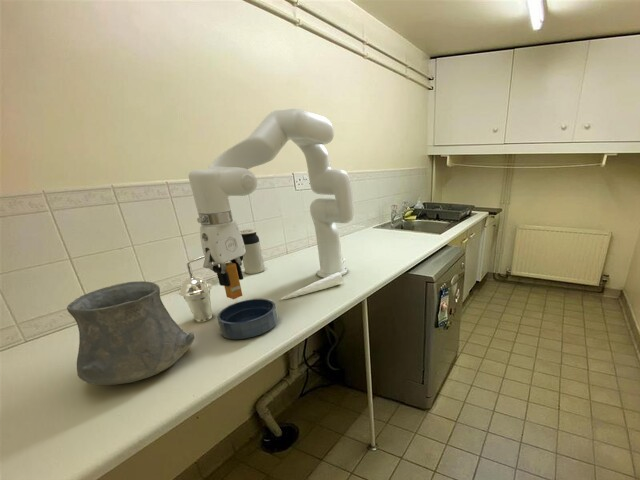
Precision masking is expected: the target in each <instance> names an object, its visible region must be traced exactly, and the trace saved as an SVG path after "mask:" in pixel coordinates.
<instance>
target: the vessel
mask: <svg viewBox="0 0 640 480" xmlns="http://www.w3.org/2000/svg"><path fill="white" fill-rule="evenodd" d="M66 310H67V312H68V313H69V314H70V315H71V317H72V318H73V319H74V321H75V322H76V325H77V328H78V335H79V337H78V338H79V339H78V341H79V344H78V350H77V351H78V352H77V358H76V375H77V377H78V378H79V379H80V380H81V381H82V382H85V383H86V384H90V385H91V384H92V385H97V386H112V385H114V386H115V385H122V384H130V383H134V382H137V381H142V380H144V379H148V378H150V377H153V376H156V375H158V374H159V373H161V372H163V371H166V370H167V369H168V368H170V367H171V366H173V365H174V364H175V363H176V362H177V361H179V359H181V358H182V357H183V355H184V354H185V353H186V352H187V351H188V349H190V347H191V345H192V344H193V342H194V340H195V333H194V332H189V333H187V332H186V331H185V330H183V329H182V328H181V327H180V326H179V324H178V323H177V322H176V321H175V320H174V319H173V317H172V316H171V314H170V313H169V311H168V310H167V308H166V306H165V304H164V303H163V301H162V299H161V288H160V286H159V285H158V284H157V283H155V282H152V281H145V280H144V281H143V280H142V281H128V282H122V283H117V284H113V285H108V286H105V287H102V288H99V289H95V290H92V291H90V292H88V293H84V294H82V295H80V296H79V297H76V298H75V299H74V300H73V301H72V302H70V303H69V304H68V305H67V306H66Z"/></svg>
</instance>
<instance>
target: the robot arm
mask: <svg viewBox="0 0 640 480" xmlns="http://www.w3.org/2000/svg"><path fill="white" fill-rule="evenodd" d="M334 136H335V130H334V126H333V124H332V122H331V121H330V120H329V119H328V118H327V117H325V116H322V115H320V114H316V113H314V112H311V111H308V110H304V109H301V108H287V109H276V110H273V111H270V112H269V113H268V114H267V115H266V116H265V117H264V118H263V119H262V121H261V122H260V123H259V124H258V125H257V127H256V128H255V129H253V131H252V132H251V133H250V135H249V136H247V137H246V138H244V139H242V140H241V141H239V142H236V144H234V145H232V146H231V147H228V149H226V150H225V151H223V152H222V153H220V154H218V156H217V157H215V159H214V160H213V161H212V162H211V164H210V165H209V166H208V167H207V168H203V169H202V168H201V169H193V170H190V171H189V172H188V180H189V184H190V188H191V193H192V195H193V200H194V204H195V207H196V211H197V215H198V218H196V221H197V223H198V224H200V226H199V236H200V243H201V249H202V254H203V256H204V257H205V258H204V261H203V265H202V267H203V268H204V269H208V270H210V271H212V272H213V273H215V274H216V276H217V279H218V283H219V286H220V287H221V286H222V287H224V286H230V285H231V283H230V279H229V275H228V272H226V270H225V263H228V262H231V263H235V264H236V268H237V272H238V277H239V281H242V280H244V276H243V271H242V265H243V260H242V259H243V256H244V255H245V253H246V250H245V246H244V242H243V238H242V235H241V232H240V231H241V229H240V227H239V225H238V222H237V221H236V220H234V218H233V212H232V208H231V203H230V199H229V197H235V196H236V197H237V196H238V197H245V196H249V195H251V194H253V193H254V192H255V191H256V189H257V187H258V180H257V177H256V175H255V174H254V172H252V171H251V170H249V169H251V168H255V167H258V166H262V165H264V164H267V163H270V162H271V161H273V160H274V159H275V158H276V157H277V155H279V153H280V151H281V150H282V149H283V148H284V146H285V145H286V144H287V143H288V141H291V142H292V143H293V144H295V145H296V146H297V147H298V148H299V149H300V151H302V153H303V155H304V158H305V161H306V168H307V172H308V173H307V175H308V180H309V185H310V189H311V191H312V192H313V193H314V194H317V195H322V196H334V197H335V198H334V197H317V198H315V199H313V200H312V201H311V203H310V205H309V213H310V216H311V217H310V218H311V219H312V222H313V226H314V230H315V231H314V232H315V237H316V246H317V247H316V248H317V255H318V261H319V262H318V263H319V268H318V270H317V271H316V274H317V276H318V277H320V278H323V279H324V278H326V277H328V276H330V275H333V274H335V273H337V272H339V273H340V274H341V275H342V276H344V275H345V274H347V273H348V268H347V267H346V266H344V263H345V262H346V260H347V259H346V258H345V257H343V252H342V251H343V250H342V241H341V232H340V229H339V227H338V225H337V224H349V223H350V222H351V221H353V219H354V216H355V215H354V214H355V209H354V208H355V207H354V197H353V188H352V187H353V186H352V180H351V177H350V176H349V174H348V172H346V171H345V170H344V169H340V168H332V166H331V161H330V160H331V159H330V155H329V152H328V150H327V148H326V147H325V145H328V144H330V143H331V142H332V141H333V140H334Z"/></svg>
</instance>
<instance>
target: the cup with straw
mask: <svg viewBox="0 0 640 480" xmlns="http://www.w3.org/2000/svg"><path fill="white" fill-rule="evenodd" d="M203 259H205V257H204V255H202V256H201V255H200V256H198V257H196V258H192V259H190V260H188V261H187V262H186V268H187V271H188V275H189V277H188V278H187V279H185V280H184V281H183V282H182V284H181V286H180V289H179V290H178V295H179V296H180V297H183V299H184V300H185V302H186V303H187V306H188V308H189V309H190V312H191V314H192V316H193V318H194V319H195V322H197V323H203V322H207V321H209V320H211V319H212V318H213V315H212V314H213V311H212V301H211V290H212V289H213V286H212V284H211V283H209V282H207V280H206V279H204V278H203V277H199V276H194V275H193V272H192V269H191V268H192V267H191V263H194V262H197V261H200V260H203Z"/></svg>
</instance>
